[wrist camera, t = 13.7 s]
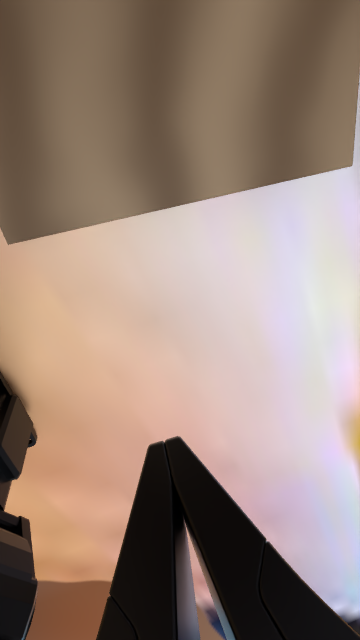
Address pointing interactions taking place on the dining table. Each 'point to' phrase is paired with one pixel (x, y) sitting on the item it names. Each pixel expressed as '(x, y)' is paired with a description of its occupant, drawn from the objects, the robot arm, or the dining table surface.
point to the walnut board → (167, 103)
